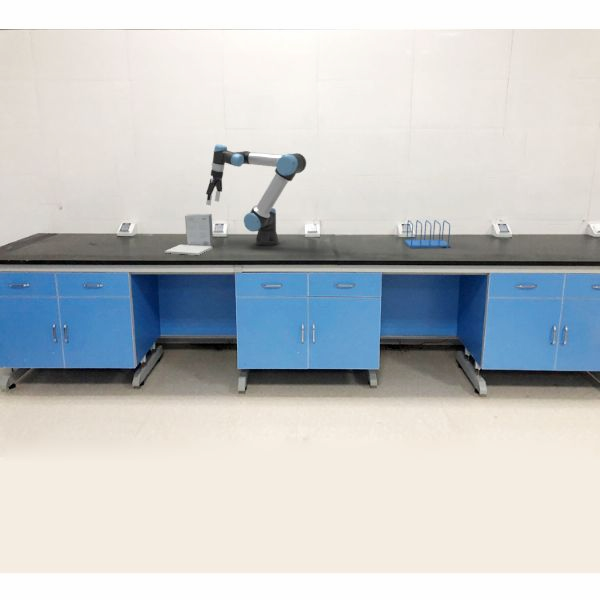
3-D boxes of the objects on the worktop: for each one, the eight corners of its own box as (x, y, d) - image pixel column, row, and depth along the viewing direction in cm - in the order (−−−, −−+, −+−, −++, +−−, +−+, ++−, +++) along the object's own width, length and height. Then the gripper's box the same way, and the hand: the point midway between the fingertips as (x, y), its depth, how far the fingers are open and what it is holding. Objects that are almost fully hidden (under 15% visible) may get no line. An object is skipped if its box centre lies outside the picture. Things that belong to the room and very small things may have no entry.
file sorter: (409, 248, 365) (411, 223, 361) (404, 242, 382) (406, 219, 377) (449, 248, 365) (451, 223, 361) (443, 242, 382) (444, 219, 377)
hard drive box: (213, 245, 375) (212, 213, 369) (211, 247, 368) (209, 215, 362) (189, 244, 377) (188, 213, 371) (186, 247, 369) (184, 215, 363)
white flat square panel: (212, 248, 364) (212, 246, 364) (198, 255, 346) (198, 253, 345) (180, 246, 370) (180, 244, 370) (164, 253, 352) (164, 251, 351)
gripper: (219, 166, 379) (214, 198, 387) (203, 171, 356) (199, 205, 364) (230, 169, 377) (225, 201, 385) (215, 174, 355) (210, 208, 363)
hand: (212, 203), depth 375 cm, fingers open, 13 cm apart
